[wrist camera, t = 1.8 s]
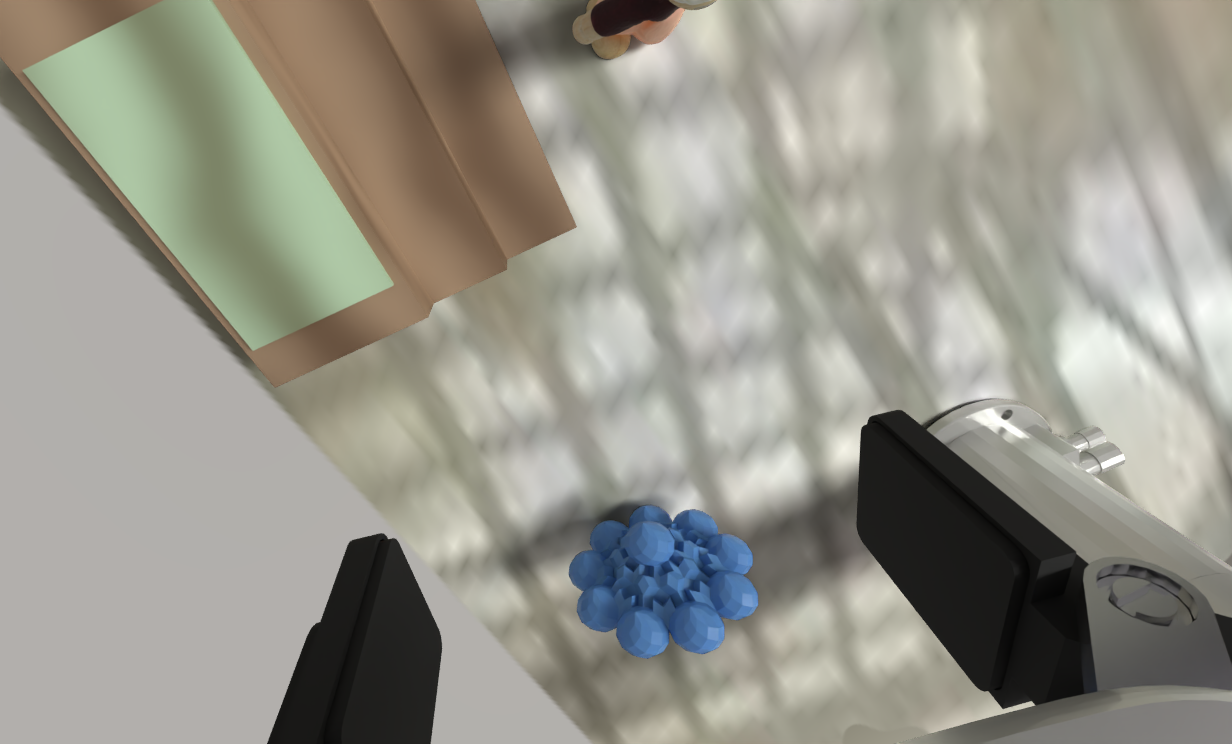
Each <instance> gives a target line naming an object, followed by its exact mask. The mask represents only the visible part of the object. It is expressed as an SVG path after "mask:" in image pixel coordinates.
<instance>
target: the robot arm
mask: <svg viewBox="0 0 1232 744" xmlns="http://www.w3.org/2000/svg"><path fill="white" fill-rule="evenodd" d="M1105 441H1106V436H1105V434H1104V433H1103V431H1102V430H1101V429H1100V428H1098V427H1096V426H1090V427H1087V428H1085V429H1083V430H1080V431H1078V432H1076V433H1074V435H1071V436H1069V437H1067V438H1065V437H1063V436H1056V435H1055V434H1053V433H1052V430H1051V428H1050V426H1049V425H1048V423H1047V421H1046V420H1045V419H1044V418H1043V417H1042V416H1041V415H1040V414H1039V413H1038V412H1036V411H1034V410H1033V409H1031V408H1029V407H1028V406H1026V405H1024V404H1022V403H1019V402H1016V401H1013V400H1004V399H993V400H983V401H980V402H976V403H972V404H969V405H966V406H964V407H962V408H959V409H957V410H955V411H952V412H951V413H949V414H947V415H946V416H944V417H942V418H941V419H939V420H938V421H936V422H935V423H934V424H933V425H931V426H930V427H929V428H928V429H925V428H924V427H922V426H921V425H920V424H919V423H917V422H916V421H915V420H914V419H912V418H911V417H910V416H909V415H908V414H906V413H905V412H903V411H902V410H895V411H891V412H886V413H882V414H878V415H874V416H871V417H870V418H869V420H868V423H867V425H864V426H863V427H862V429H861V441H860V461H859V482H858V503H857V531H858V534H859V536H860V538H861V540H862V542H863V543H864V545H865V546H866V547H867V548H868V550H869V551H870V552H871V554H872V555H873V556H874V557H875V559H876V560H877V561H878V563H879V564H880V565H881V566H882V568H883V569H884V570H885V571H886V573H887V574H888V575H889V577H890V578H891V579H892V580H893V582H894V583H895V584H896V585H897V587H898V588H899V589H900V591H901V592H902V593H903V594H904V596H905V597H906V598H907V600H908V601H909V602H910V603H911V605H912V606H913V607H914V608H915V610H916V611H917V612H918V614H919V615H920V616H921V617H922V619H923V620H924V621H925V623H926V624H927V625H928V626H929V628H930V629H931V630H932V631H933V633H934V634H935V635H936V637H937V638H938V639H939V640H940V642H941V643H942V644H943V645H944V647H945V648H946V649H947V651H948V652H949V653H950V654H951V656H952V657H953V658H954V660H955V661H956V662H957V663H958V665H959V666H960V667H961V668H962V670H963V671H964V672H965V674H966V675H967V676H968V677H969V679H970V680H971V681H972V682H973V684H974V685H975V686H976V687H977V688H979V689H980V690H982V691H984V692H985V691H989V692H990V694H991V695H992V696H993V697H994V699H995V700H996V701H997V702H998V704H999V705H1000V706H1001V707H1002V709H1005V708H1008V707H1012V706H1015V705H1019V704H1022V703H1026V702H1029V701H1032V702H1033V703H1034V704H1035V705H1036V706H1032V707H1028V708H1025V709H1021V710H1017V711H1013V712H1009V713H1005V714H1001V715H997V716H994V717H990V718H986V719H982V720H978V721H974V722H971V723H967V724H964V725H960V726H956V727H953V728H949V729H946V730H942V731H939V732H935V733H931V734H928V735H924V736H921V737H917V738H914V739H910V740H906V741H903V742H899V743H896V744H1232V567H1230V566H1229V565H1228V564H1226V563H1225V562H1223V561H1222V560H1220V559H1219V558H1217V557H1216V556H1214V555H1213V554H1211V553H1210V552H1208V551H1207V550H1205V549H1204V548H1202V547H1201V546H1199V545H1198V544H1196V543H1194V542H1193V541H1191V540H1190V539H1188V538H1187V537H1185V536H1184V535H1182V534H1181V533H1179V532H1178V531H1176V530H1175V529H1173V528H1172V527H1170V526H1169V525H1167V524H1166V523H1164V522H1163V521H1161V520H1160V519H1158V518H1157V517H1155V516H1154V515H1152V514H1151V513H1149V512H1147V511H1146V510H1144V509H1143V508H1141V507H1140V506H1138V505H1137V504H1135V503H1134V502H1132V501H1131V500H1129V499H1128V498H1126V497H1125V496H1123V495H1122V494H1120V493H1119V492H1117V491H1116V490H1114V489H1113V488H1111V487H1110V486H1108V485H1107V484H1105V483H1104V482H1102V481H1100V480H1099V479H1097V478H1096V477H1094V475H1096V474H1097V475H1099V474H1101V473H1104V472H1106V471H1108V470H1111V469H1113V468H1115V467H1118V466H1120V465H1122V464H1124V462H1125V458H1124V455H1123V453H1122V452H1121V451H1120V449H1119V448H1118V447H1117V446H1115V445H1114V444H1113V443H1110V442H1105ZM1079 452H1080V454H1079ZM441 653H442V642H441V635H440V631H439V629H438V627H437V624H436V622H435V620H434V618H433V616H432V614H431V611H430V609H429V607H428V605H427V603H426V601H425V598H424V597H423V594H422V592H421V590H420V588H419V586H418V583H417V581H416V579H415V577H414V575H413V572H412V570H411V568H410V566H409V564H408V562H407V559H406V557H405V555H404V553H403V551H402V549H401V547H400V544H399V542H398V541H397V540H396V539H395V538H392V539H388V538H387V536H386V535H385V534H382V533H381V534H376V535H372V536H368V537H363V538H360V539H355V540H352V541H351V542H350V543H349V544H348V546H347V549H346V552H345V555H344V557H343V560H342V563H341V566H340V568H339V571H338V574H337V577H336V580H335V583H334V585H333V588H332V591H331V594H330V596H329V600H328V602H327V605H326V608H325V611H324V613H323V616H322V619H321V622H319V623H316V624H315V625H314V626H313V627H312V628H311V630H310V632H309V634H308V636H307V638H306V641H305V643H304V646H303V649H302V651H301V654H300V657H299V659H298V662H297V665H296V667H295V670H294V673H293V676H292V678H291V681H290V684H289V686H288V689H287V692H286V695H285V697H284V700H283V703H282V705H281V708H280V711H279V713H278V716H277V719H276V721H275V724H274V727H273V729H272V732H271V735H270V737H269V741H268V743H267V744H431V736H432V727H433V719H434V711H435V702H436V695H437V686H438V677H439V670H440V662H441Z"/></svg>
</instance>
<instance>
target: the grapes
mask: <svg viewBox="0 0 1232 744" xmlns="http://www.w3.org/2000/svg"><path fill="white" fill-rule="evenodd" d="M590 545H591V547H592V549H593V550H587V551H582V552H581V553H579V554H577V555H576V556H575V558H574V559H573V561H572V562H571V564H570V567H569V577H570V579H571V581H572V583H573V585H575V586H576V587H577V588H579V589H580V590H581V591H583V593H582V594H581V596H580V598H579V599H578V604H577V613H578V615H579V617H580V620H581V622H582V623H584V624H585V625H586V626H588V627H589V628H590V629H592V630H596V631H601V632H608V631H611V630H613V629H615V628H617V632H616V636H617V638H618V640H619V642H620V644H621V646H622V648H624V649H625V650H626V651H628V652H629V653H630V654H632V655H634V656H637V657H642V658H647V659H648V658H651V657H653V656H655V655H658V654H660V653H662V652H663V651H664V650H665V648H666V647H667V645H668V644H669V631H670V633H671V635H672V637H673V639H674V641H675V643H677V644H678V645H679V646H681V647H682V648H683V649H685V650H686V651H690V652H694V653H699V654H705V653H708V652H710V651H712V650H715V649H717V648H718V647H719V646H720V644H721V643H722V641H723V640H724V623H723V621H722V619H721V617H723V618H728V619H733V620H740V619H742V618H744V617H747V616H749V615H751V614H752V613H753V612H754V610H755V609H756V607H757V606H758V593H757V591H756V589H755V588H754V586H753V585H752V583H751V581H750V580H749V579H748V578H746V577H745V576H743V575H744V574H746V573H747V572H748V571H749V569H750V568H751V566H752V565H753V554H752V552H751V551H750V549H749V548H748V546H747V544H746V543H745V542H744V541H742V540H741V539H739V538H738V537H736V536H734V535H730V534H718V527H717V525H716V524H715V522H714V520H713V519H712V517H710V516H709V515H707V514H706V513H704V512H703V511H699V510H695V509H692V510H685V511H682V512H681V513H679V514H678V515H677V516H676V517H675V519H674V520H673V522H672V520H671V518H670V516H669V515H668V513H667V512H666V511H664V510H663V509H661V508H660V507H657V506H653V505H645V506H641V507H639V508H638V509H636V510H635V511H634V512H633V514H632V515H631V517H630V519H629V528H628V527H627V526H625V525H624V524H622V523H621V522H617V521H613V520H610V521H603V522H601V523H600V524H598V525H597V526H596V527H595V528H594V530H593V531H592V533H591V535H590Z"/></svg>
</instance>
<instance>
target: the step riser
mask: <svg viewBox="0 0 1232 744" xmlns="http://www.w3.org/2000/svg"><path fill="white" fill-rule="evenodd" d="M0 57H1V59H2V60H3V61H4V62H5V64H6V65H7V66H8V67H9V68H10V70H11V71H12V72H13V73H14V74H15V76H16V77H17V78H18V79H19V80H20V82H21V83H22V84H23V85H24V86H25V88H26V89H27V90H28V91H29V92H30V94H31V95H32V96H33V97H34V98H35V100H36V101H37V102H38V103H39V104H40V106H41V107H42V108H43V109H44V110H45V112H46V113H47V114H48V115H49V116H50V118H51V119H52V120H53V121H54V122H55V124H56V125H57V126H58V127H59V129H60V130H61V131H62V132H63V133H64V135H65V136H66V137H67V138H68V139H69V141H70V142H71V143H72V144H73V145H74V147H75V148H76V149H77V150H78V151H79V153H80V154H81V155H82V156H83V157H84V159H85V160H86V161H87V162H88V163H89V165H90V166H91V167H92V168H93V169H94V171H95V172H96V173H97V174H98V175H99V177H100V178H101V179H102V180H103V181H104V183H105V184H106V185H107V186H108V187H109V189H110V190H111V191H112V192H113V194H114V195H115V196H116V197H117V198H118V200H119V201H120V202H121V203H122V204H123V206H124V207H125V208H126V209H127V210H128V212H129V213H130V214H131V215H132V216H133V218H134V219H135V220H136V221H137V222H138V224H139V225H140V226H141V227H142V228H143V230H144V231H145V232H146V233H147V234H148V236H149V237H150V238H151V239H152V240H153V242H154V243H155V244H156V245H157V246H158V248H159V249H160V250H161V251H162V253H163V254H164V255H165V256H166V257H167V259H168V260H169V261H170V262H171V263H172V265H173V266H174V267H175V268H176V269H177V271H178V272H179V273H180V274H181V275H182V277H183V278H184V279H185V280H186V281H187V283H188V284H189V285H190V286H191V287H192V289H193V290H194V291H195V292H196V293H197V295H198V296H199V297H200V298H201V299H202V301H203V302H204V303H205V304H206V305H207V307H208V308H209V309H210V310H211V311H212V313H213V314H214V315H215V316H216V318H217V319H218V320H219V321H220V322H221V324H222V325H223V326H224V327H225V328H226V330H227V331H228V332H229V333H230V334H231V336H232V337H233V338H234V339H235V340H236V342H237V343H238V344H239V345H240V346H241V348H242V349H243V350H244V351H245V352H246V354H247V355H248V356H249V357H250V358H251V360H252V361H253V362H254V363H255V364H256V366H257V367H258V368H259V369H260V370H261V372H262V373H263V374H264V375H265V376H266V378H267V379H268V380H269V381H270V383H271V384H272V385H273V386H274V387H278V386H280V385H282V384H284V383H286V382H289V381H291V380H293V379H295V378H297V377H299V376H302V375H304V374H306V373H308V372H310V371H312V370H315V369H317V368H319V367H321V366H323V365H325V364H328V363H330V362H332V361H334V360H336V359H339V358H341V357H343V356H345V355H347V354H349V353H352V352H354V351H356V350H358V349H360V348H362V347H365V346H367V345H369V344H371V343H373V342H375V341H378V340H380V339H382V338H384V337H386V336H389V335H391V334H393V333H395V332H397V331H399V330H402V329H404V328H406V327H408V326H410V325H412V324H415V323H417V322H419V321H421V320H423V319H425V318H428V316H429V314H430V311H431V309H432V306H433V304H434V303H435V302H438V301H440V300H442V299H444V298H446V297H448V296H451V295H453V294H455V293H457V292H459V291H461V290H464V289H466V288H468V287H470V286H472V285H474V284H477V283H479V282H481V281H483V280H485V279H488V278H490V277H492V276H494V275H496V274H498V273H501V272H503V271H505V270H507V259H509V258H511V257H513V256H515V255H518V254H520V253H522V252H524V251H526V250H528V249H531V248H533V247H535V246H537V245H539V244H541V243H544V242H546V241H548V240H550V239H552V238H554V237H557V236H559V235H561V234H563V233H565V232H567V231H570V230H572V229H574V228H576V227H577V226H576V224H575V222H574V220H573V217H572V215H571V213H570V211H569V208H568V206H567V204H566V202H565V200H564V197H563V195H562V193H561V191H560V188H559V186H558V184H557V182H556V179H555V177H554V175H553V173H552V171H551V168H550V166H549V164H548V162H547V159H546V157H545V155H544V153H543V150H542V148H541V146H540V144H539V142H538V139H537V137H536V135H535V133H534V130H533V128H532V126H531V124H530V121H529V119H528V117H527V115H526V113H525V110H524V108H523V106H522V104H521V101H520V99H519V97H518V95H517V92H516V90H515V88H514V86H513V84H512V81H511V79H510V77H509V75H508V72H507V70H506V68H505V66H504V63H503V61H502V59H501V57H500V55H499V52H498V50H497V48H496V46H495V43H494V41H493V39H492V37H491V34H490V32H489V30H488V28H487V26H486V23H485V21H484V19H483V17H482V14H481V12H480V10H479V8H478V5H477V3H476V1H475V0H0Z"/></svg>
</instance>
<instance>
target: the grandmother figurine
mask: <svg viewBox="0 0 1232 744" xmlns="http://www.w3.org/2000/svg"><path fill="white" fill-rule="evenodd" d="M716 1H717V0H590V1H589V2H588V4H587V8H586V14H584V15H580V16H578V17H577V18H576V19H575V21H574V23H573V27H572V28H573V35H574V37H575V39H576V40H577V41H578V42H579V43H581V44H590V43H591V44H592V47H593V49H594V51H595V52H596V53H597V55H598V56H600V57H602V58H604V59H614V58H617V57H619V56H621V55H622V54H624V53H625V52H626V50H627V49H628V47H629V44H630V40H631V35H633V36H634V37H635V38H637V39H638V40H639V41H641V42H643V43H645V44H656V43H659V42H661V41H663V40H664V39H665V38H666V37H667V36H668V35H670V34H671V32H672V31H673V30H674V28H675V27H676V26H677V24H678V23H679V21H680V19H681V17H682V15H683V12H684V11H685V9H687V10H699V9H702V8H705V7H708V6H710V5H711V4H713V3H714V2H716Z"/></svg>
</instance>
